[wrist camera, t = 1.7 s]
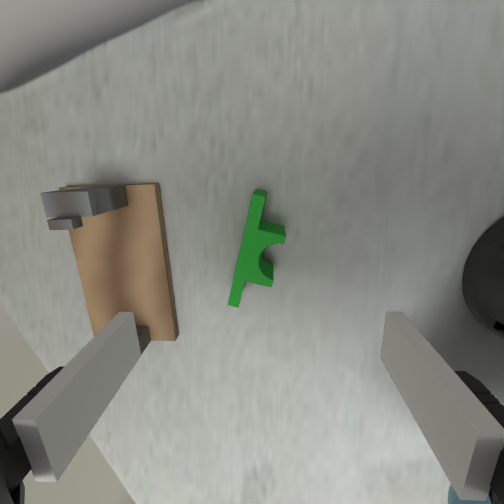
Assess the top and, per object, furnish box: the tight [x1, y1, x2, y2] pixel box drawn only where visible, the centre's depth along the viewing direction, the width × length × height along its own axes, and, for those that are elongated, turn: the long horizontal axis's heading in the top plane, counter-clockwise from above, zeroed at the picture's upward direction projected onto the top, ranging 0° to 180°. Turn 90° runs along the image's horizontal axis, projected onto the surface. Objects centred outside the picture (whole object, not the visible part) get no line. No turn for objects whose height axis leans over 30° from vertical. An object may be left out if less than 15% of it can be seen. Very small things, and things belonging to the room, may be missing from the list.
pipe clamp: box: [228, 189, 286, 308], centre depth 28 cm, size 11×4×5 cm, turn 167°
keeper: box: [40, 184, 179, 354], centre depth 28 cm, size 10×18×8 cm, turn 2°
